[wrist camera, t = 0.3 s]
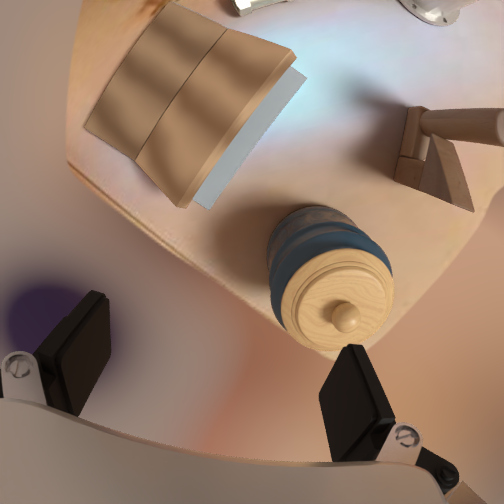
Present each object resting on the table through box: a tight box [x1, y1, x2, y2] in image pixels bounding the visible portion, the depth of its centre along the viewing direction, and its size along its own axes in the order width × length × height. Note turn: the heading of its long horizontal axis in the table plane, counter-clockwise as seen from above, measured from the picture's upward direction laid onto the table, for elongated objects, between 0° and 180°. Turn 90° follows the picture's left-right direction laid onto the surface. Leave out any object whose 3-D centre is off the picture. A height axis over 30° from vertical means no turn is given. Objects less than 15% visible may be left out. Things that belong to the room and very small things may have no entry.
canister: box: [267, 206, 394, 351], centre depth 32 cm, size 13×13×18 cm
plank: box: [135, 29, 297, 209], centre depth 30 cm, size 20×10×2 cm
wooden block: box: [394, 106, 504, 212], centre depth 26 cm, size 4×11×18 cm, turn 169°
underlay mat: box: [86, 3, 307, 210], centre depth 33 cm, size 21×21×1 cm
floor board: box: [84, 1, 227, 160], centre depth 31 cm, size 20×9×2 cm, turn 144°
